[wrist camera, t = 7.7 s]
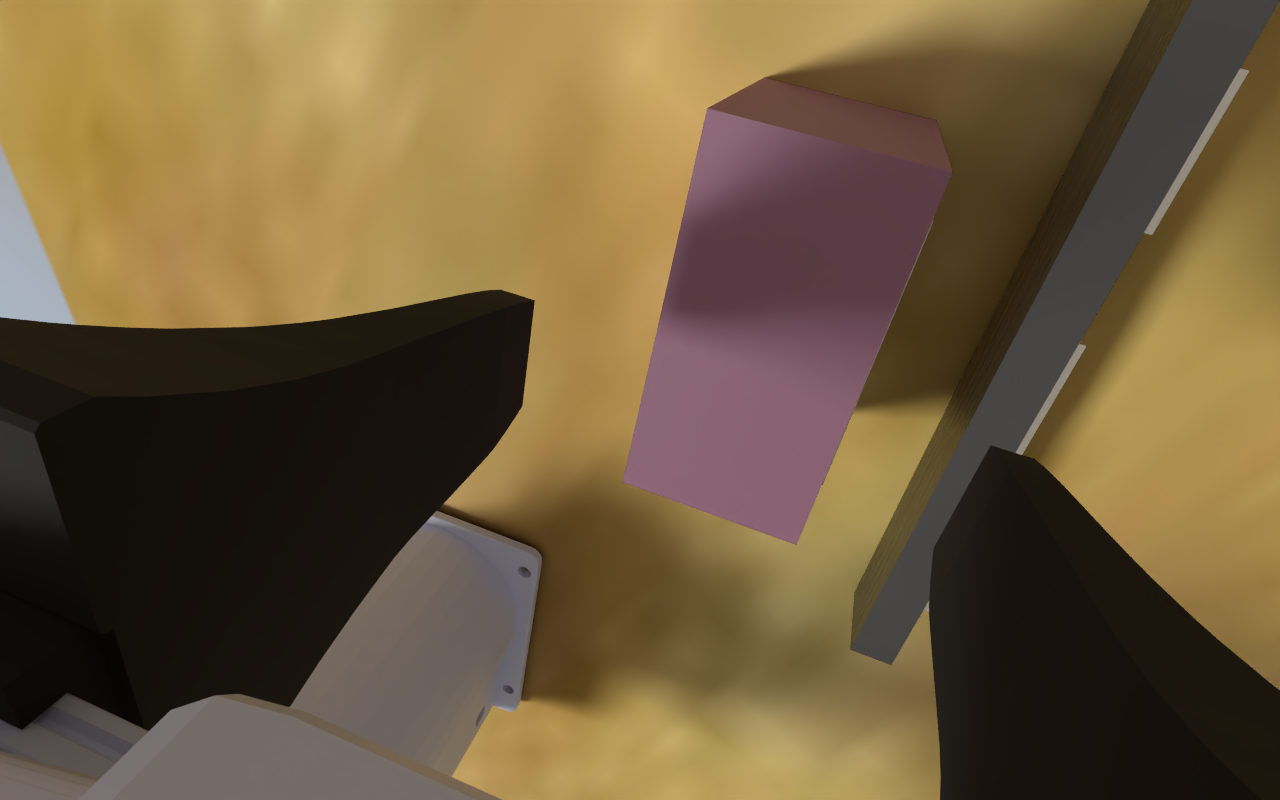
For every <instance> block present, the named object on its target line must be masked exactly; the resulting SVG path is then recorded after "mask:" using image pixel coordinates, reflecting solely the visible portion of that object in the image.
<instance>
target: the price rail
mask: <svg viewBox="0 0 1280 800" xmlns="http://www.w3.org/2000/svg"><path fill="white" fill-rule="evenodd" d="M1279 1H1280V0H1150V2H1149V4H1148V6H1147V8H1146V10H1145V12H1144V14H1143V16H1142V18H1141V20H1140V22H1139V24H1138V26H1137V28H1136V30H1135V32H1134V34H1133V36H1132V38H1131V40H1130V42H1129V44H1128V46H1127V48H1126V50H1125V52H1124V54H1123V56H1122V58H1121V60H1120V62H1119V64H1118V66H1117V68H1116V70H1115V72H1114V74H1113V76H1112V78H1111V80H1110V82H1109V84H1108V86H1107V88H1106V90H1105V92H1104V94H1103V96H1102V98H1101V100H1100V102H1099V104H1098V106H1097V108H1096V110H1095V112H1094V114H1093V116H1092V118H1091V120H1090V122H1089V124H1088V126H1087V128H1086V130H1085V132H1084V134H1083V136H1082V138H1081V140H1080V142H1079V144H1078V146H1077V148H1076V150H1075V152H1074V154H1073V156H1072V158H1071V160H1070V162H1069V164H1068V166H1067V168H1066V170H1065V172H1064V174H1063V176H1062V178H1061V180H1060V182H1059V184H1058V186H1057V188H1056V190H1055V192H1054V194H1053V196H1052V198H1051V200H1050V202H1049V204H1048V206H1047V208H1046V210H1045V212H1044V214H1043V216H1042V218H1041V220H1040V222H1039V224H1038V226H1037V228H1036V230H1035V232H1034V234H1033V236H1032V238H1031V240H1030V242H1029V244H1028V246H1027V248H1026V250H1025V252H1024V254H1023V256H1022V258H1021V261H1020V263H1019V265H1018V267H1017V269H1016V271H1015V273H1014V275H1013V277H1012V279H1011V281H1010V283H1009V285H1008V287H1007V289H1006V291H1005V293H1004V295H1003V297H1002V299H1001V301H1000V303H999V305H998V307H997V309H996V311H995V313H994V315H993V317H992V319H991V321H990V323H989V325H988V327H987V329H986V331H985V333H984V335H983V337H982V339H981V341H980V343H979V345H978V347H977V349H976V351H975V353H974V355H973V357H972V359H971V361H970V363H969V365H968V367H967V369H966V371H965V373H964V375H963V377H962V379H961V381H960V383H959V385H958V387H957V389H956V391H955V393H954V395H953V397H952V399H951V401H950V403H949V405H948V407H947V409H946V411H945V413H944V415H943V417H942V419H941V421H940V423H939V425H938V427H937V429H936V431H935V433H934V435H933V437H932V439H931V441H930V443H929V445H928V447H927V449H926V451H925V453H924V455H923V457H922V459H921V461H920V463H919V465H918V467H917V469H916V471H915V473H914V475H913V477H912V479H911V481H910V483H909V485H908V487H907V489H906V491H905V493H904V495H903V497H902V499H901V501H900V503H899V505H898V507H897V509H896V511H895V513H894V515H893V517H892V519H891V521H890V523H889V525H888V527H887V529H886V531H885V533H884V535H883V537H882V539H881V541H880V543H879V545H878V547H877V549H876V551H875V553H874V555H873V557H872V559H871V561H870V563H869V565H868V567H867V569H866V571H865V573H864V575H863V577H862V579H861V581H860V583H859V585H858V587H857V589H856V591H855V594H854V607H853V620H852V633H851V647H850V650H853V651H855V652H858V653H861V654H863V655H866V656H869V657H871V658H874V659H877V660H879V661H882V662H885V663H887V664H890V665H892V663H893V661H894V659H895V658H896V656H897V654H898V653H899V651H900V649H901V647H902V646H903V644H904V642H905V641H906V639H907V637H908V635H909V634H910V632H911V630H912V629H913V627H914V625H915V624H916V622H917V620H918V618H919V617H920V615H921V613H922V612H923V610H924V611H926V612H929V594H930V578H931V568H932V557H933V548H934V546H935V544H936V543H937V541H938V539H939V537H940V535H941V534H942V532H943V530H944V528H945V526H946V525H947V523H948V521H949V519H950V517H951V516H952V514H953V512H954V510H955V508H956V507H957V505H958V503H959V501H960V499H961V498H962V496H963V494H964V492H965V490H966V489H967V487H968V485H969V483H970V481H971V480H972V478H973V476H974V474H975V472H976V471H977V469H978V467H979V465H980V463H981V462H982V460H983V458H984V456H985V454H986V453H987V451H988V449H989V447H990V445H992V446H995V447H998V448H1001V449H1004V450H1008V451H1011V452H1014V453H1017V454H1020V455H1022V454H1023V452H1024V451H1025V449H1026V447H1027V446H1028V444H1029V442H1030V441H1031V439H1032V437H1033V435H1034V434H1035V432H1036V430H1037V429H1038V427H1039V425H1040V424H1041V422H1042V420H1043V419H1044V417H1045V415H1046V414H1047V412H1048V410H1049V408H1050V407H1051V405H1052V403H1053V402H1054V400H1055V398H1056V397H1057V395H1058V393H1059V392H1060V390H1061V388H1062V387H1063V385H1064V383H1065V381H1066V380H1067V378H1068V376H1069V375H1070V373H1071V371H1072V370H1073V368H1074V366H1075V365H1076V363H1077V361H1078V359H1079V358H1080V356H1081V354H1082V353H1083V351H1084V349H1085V348H1086V344H1085V343H1084V341H1083V339H1082V338H1083V336H1084V335H1085V333H1086V331H1087V329H1088V328H1089V326H1090V324H1091V323H1092V321H1093V319H1094V317H1095V316H1096V314H1097V312H1098V311H1099V309H1100V307H1101V305H1102V304H1103V302H1104V300H1105V299H1106V297H1107V295H1108V293H1109V292H1110V290H1111V288H1112V287H1113V285H1114V283H1115V281H1116V280H1117V278H1118V276H1119V275H1120V273H1121V271H1122V270H1123V268H1124V266H1125V264H1126V263H1127V261H1128V259H1129V258H1130V256H1131V254H1132V252H1133V251H1134V249H1135V247H1136V246H1137V244H1138V242H1139V240H1140V239H1141V237H1142V235H1143V234H1144V233H1146V234H1150V235H1153V233H1154V231H1155V229H1156V228H1157V226H1158V224H1159V223H1160V221H1161V219H1162V218H1163V216H1164V214H1165V213H1166V211H1167V209H1168V208H1169V206H1170V204H1171V202H1172V201H1173V199H1174V197H1175V196H1176V194H1177V192H1178V191H1179V189H1180V187H1181V186H1182V184H1183V182H1184V181H1185V179H1186V177H1187V175H1188V174H1189V172H1190V170H1191V169H1192V167H1193V165H1194V164H1195V162H1196V160H1197V159H1198V157H1199V155H1200V153H1201V152H1202V150H1203V148H1204V147H1205V145H1206V143H1207V142H1208V140H1209V138H1210V137H1211V135H1212V133H1213V132H1214V130H1215V128H1216V126H1217V125H1218V123H1219V121H1220V120H1221V118H1222V116H1223V115H1224V113H1225V111H1226V110H1227V108H1228V106H1229V105H1230V103H1231V101H1232V99H1233V98H1234V96H1235V94H1236V93H1237V91H1238V89H1239V88H1240V86H1241V84H1242V83H1243V81H1244V79H1245V77H1246V76H1247V74H1248V72H1249V70H1244V69H1240V68H1241V66H1242V64H1243V63H1244V61H1245V59H1246V57H1247V56H1248V54H1249V52H1250V51H1251V49H1252V47H1253V46H1254V44H1255V42H1256V40H1257V39H1258V37H1259V35H1260V34H1261V32H1262V30H1263V28H1264V27H1265V25H1266V23H1267V22H1268V20H1269V18H1270V16H1271V15H1272V13H1273V11H1274V10H1275V8H1276V6H1277V4H1278V3H1279Z"/></svg>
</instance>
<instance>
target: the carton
mask: <svg viewBox="0 0 1280 800" xmlns="http://www.w3.org/2000/svg"><path fill="white" fill-rule="evenodd" d="M952 173H953V171H952V168H951V165H950V162H949V159H948V156H947V152H946V149H945V146H944V143H943V140H942V137H941V134H940V131H939V127H938V124H937V121H936V120H932V119H928V118H924V117H920V116H916V115H912V114H908V113H904V112H900V111H896V110H892V109H888V108H884V107H880V106H876V105H872V104H868V103H864V102H860V101H856V100H852V99H848V98H844V97H840V96H836V95H832V94H828V93H824V92H820V91H816V90H812V89H808V88H804V87H800V86H796V85H792V84H788V83H784V82H780V81H776V80H772V79H768V78H763V79H761V80H759V81H757V82H755V83H754V84H752V85H750V86H748V87H746V88H744V89H742V90H740V91H739V92H737V93H735V94H733V95H731V96H729V97H727V98H726V99H724V100H722V101H720V102H718V103H716V104H714V105H713V106H711V107H709V108H707V112H706V117H705V121H704V125H703V130H702V134H701V139H700V143H699V147H698V152H697V156H696V161H695V165H694V170H693V174H692V178H691V183H690V187H689V192H688V196H687V200H686V205H685V209H684V214H683V218H682V223H681V227H680V231H679V236H678V240H677V245H676V249H675V253H674V258H673V262H672V267H671V271H670V276H669V280H668V284H667V289H666V293H665V298H664V302H663V306H662V311H661V315H660V320H659V324H658V329H657V333H656V337H655V342H654V346H653V351H652V355H651V360H650V364H649V368H648V373H647V377H646V382H645V386H644V390H643V395H642V399H641V404H640V408H639V413H638V417H637V421H636V426H635V430H634V435H633V439H632V443H631V448H630V452H629V457H628V461H627V466H626V470H625V474H624V479H623V483H626V484H629V485H632V486H634V487H637V488H640V489H643V490H646V491H648V492H651V493H654V494H657V495H659V496H662V497H665V498H668V499H671V500H673V501H676V502H679V503H682V504H684V505H687V506H690V507H693V508H696V509H698V510H701V511H704V512H707V513H709V514H712V515H715V516H718V517H721V518H723V519H726V520H729V521H732V522H734V523H737V524H740V525H743V526H746V527H748V528H751V529H754V530H757V531H759V532H762V533H765V534H768V535H771V536H773V537H776V538H779V539H782V540H784V541H787V542H790V543H793V544H795V545H797V542H798V540H799V537H800V535H801V533H802V530H803V528H804V525H805V523H806V521H807V518H808V516H809V514H810V511H811V509H812V506H813V504H814V502H815V499H816V497H817V495H818V492H819V490H820V487H821V485H823V483H824V480H825V478H826V476H827V473H828V471H829V468H830V466H831V464H832V461H833V459H834V457H835V454H836V452H837V449H838V447H839V445H840V442H841V440H842V438H843V435H844V433H845V430H846V428H847V426H848V423H849V421H850V419H851V416H852V414H853V411H854V409H855V407H856V404H857V402H858V400H859V397H860V395H861V393H862V390H863V388H864V385H865V383H866V381H867V378H868V376H869V374H870V371H871V369H872V366H873V364H874V362H875V359H876V357H877V355H878V352H879V350H880V347H881V345H882V343H883V340H884V338H885V336H886V333H887V331H888V328H889V326H890V324H891V321H892V319H893V317H894V314H895V312H896V309H897V307H898V305H899V302H900V300H901V298H902V295H903V293H904V290H905V288H906V286H907V283H908V281H909V279H910V276H911V274H912V271H913V269H914V267H915V264H916V262H917V260H918V257H919V255H920V252H921V250H922V248H923V245H924V243H925V241H926V238H927V236H928V233H929V231H930V229H931V226H932V224H933V222H934V219H933V218H934V216H935V214H936V211H937V209H938V207H939V204H940V202H941V199H942V197H943V195H944V192H945V190H946V187H947V185H948V183H949V180H950V178H951V176H952Z"/></svg>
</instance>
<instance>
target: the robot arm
mask: <svg viewBox="0 0 1280 800" xmlns="http://www.w3.org/2000/svg"><path fill="white" fill-rule="evenodd" d="M534 302H535V300H531V299H528V298H525V297H522V296H519V295H516V294H512V293H509V292H506V291H503V290H488V291H480V292H474V293H468V294H463V295H458V296H453V297H448V298H443V299H438V300H433V301H428V302H423V303H418V304H414V305H409V306H404V307H399V308H394V309H388V310H382V311H376V312H370V313H365V314H359V315H353V316H347V317H341V318H335V319H328V320H320V321H312V322H303V323H294V324H282V325H270V326H257V327H232V328H184V329H158V328H124V327H106V326H88V325H71V324H59V323H47V322H38V321H28V320H19V319H9V318H1V317H0V800H502V799H499V798H497V797H495V796H493V795H490V794H488V793H486V792H484V791H482V790H479V789H477V788H475V787H473V786H470V785H468V784H466V783H464V782H462V781H459V780H457V779H455V778H453V777H452V775H453V773H454V772H455V770H456V768H457V767H458V765H459V763H460V761H461V760H462V758H463V756H464V754H465V753H466V751H467V749H468V748H469V746H470V744H471V742H472V741H473V739H474V737H475V735H476V734H477V732H478V730H479V729H480V727H481V725H482V723H483V722H484V720H485V718H486V716H487V715H488V713H489V711H490V710H491V708H492V706H493V705H494V706H497V707H499V708H501V709H504V710H506V711H514V710H516V709H517V707H518V705H519V703H520V701H521V694H522V688H523V681H524V675H525V668H526V662H527V656H528V649H529V643H530V636H531V630H532V624H533V617H534V611H535V604H536V598H537V592H538V585H539V579H540V572H541V566H542V557H541V555H540V553H539V552H538V551H537V550H536V549H534V548H533V547H530V546H528V545H525V544H522V543H520V542H517V541H515V540H512V539H509V538H507V537H504V536H502V535H499V534H496V533H494V532H491V531H488V530H486V529H483V528H481V527H478V526H475V525H473V524H470V523H467V522H465V521H462V520H460V519H457V518H454V517H452V516H449V515H447V514H444V513H441V512H439V511H437V510H438V509H439V508H440V507H441V506H442V505H443V504H444V502H445V501H446V500H447V499H448V498H449V497H450V496H451V495H452V494H453V493H454V492H455V491H456V490H457V489H458V487H459V486H460V485H461V484H462V483H463V482H464V481H465V480H466V479H467V478H468V477H469V476H470V474H471V473H472V472H473V471H474V470H475V469H476V468H477V467H478V466H479V465H480V464H481V462H482V461H483V460H484V459H485V458H486V457H487V456H488V455H489V454H490V452H491V451H492V450H493V449H494V448H495V446H496V445H497V443H498V442H499V440H500V439H501V438H502V436H503V435H504V433H505V432H506V430H507V429H508V427H509V426H510V424H511V423H512V421H513V420H514V418H515V417H516V415H517V414H518V412H519V410H520V409H521V407H522V404H523V395H524V387H525V378H526V370H527V361H528V353H529V344H530V336H531V327H532V319H533V310H534ZM524 567H525V568H527V569H528V570H529V571H528V570H527V569H525V568H524ZM929 618H930V632H931V645H932V658H933V670H934V682H935V694H936V706H937V718H938V730H939V742H940V768H941V788H940V800H1280V690H1278V689H1277V688H1276V687H1274V686H1273V685H1272V684H1271V683H1269V682H1268V681H1267V680H1266V679H1265V678H1263V677H1262V676H1261V675H1260V674H1259V673H1257V672H1256V671H1255V670H1254V669H1253V668H1251V667H1250V666H1249V665H1248V664H1247V663H1245V662H1244V661H1243V660H1242V659H1241V658H1239V657H1238V656H1237V655H1236V654H1235V653H1233V652H1232V651H1231V650H1230V649H1229V648H1227V647H1226V646H1225V645H1224V644H1223V643H1221V642H1220V641H1219V640H1218V639H1217V638H1216V637H1214V636H1213V635H1212V634H1211V633H1210V632H1209V631H1208V630H1207V629H1205V628H1204V627H1203V626H1202V625H1201V624H1200V623H1199V622H1198V621H1196V620H1195V619H1194V618H1193V617H1192V616H1191V615H1190V614H1189V613H1188V612H1187V611H1186V610H1185V609H1184V608H1183V607H1181V606H1180V605H1179V604H1178V603H1177V602H1176V601H1175V600H1174V599H1173V598H1172V597H1171V596H1170V595H1169V594H1168V593H1167V592H1166V591H1165V590H1164V589H1163V588H1162V587H1160V586H1159V585H1158V584H1157V583H1156V582H1155V581H1154V580H1153V579H1152V578H1151V577H1150V576H1149V575H1148V574H1147V573H1146V572H1145V571H1144V570H1143V569H1142V568H1141V567H1140V566H1139V565H1138V564H1137V563H1136V562H1135V561H1134V560H1133V559H1132V558H1131V557H1130V556H1129V555H1128V554H1127V553H1126V552H1125V551H1124V550H1123V548H1122V547H1121V546H1120V545H1119V544H1118V543H1117V542H1116V541H1115V540H1114V539H1113V538H1112V537H1111V536H1110V535H1109V534H1108V533H1107V532H1106V531H1105V530H1104V529H1103V527H1102V526H1101V525H1100V524H1099V523H1098V522H1097V521H1096V520H1095V519H1094V518H1093V517H1092V516H1091V515H1090V514H1089V513H1088V511H1087V510H1086V509H1085V508H1084V507H1083V506H1082V505H1081V504H1080V503H1079V502H1078V501H1077V500H1076V499H1075V498H1074V496H1073V495H1072V494H1071V493H1070V492H1069V491H1068V490H1067V489H1066V488H1065V487H1064V486H1063V485H1062V484H1061V483H1060V482H1059V481H1058V480H1057V479H1056V478H1055V477H1054V476H1053V475H1052V474H1051V473H1050V472H1049V471H1048V470H1047V469H1046V468H1045V467H1044V466H1042V465H1041V464H1040V463H1039V462H1038V461H1036V460H1035V459H1033V458H1030V457H1027V456H1023V455H1020V454H1017V453H1014V452H1011V451H1008V450H1004V449H1001V448H998V447H995V446H992V445H990V447H989V449H988V451H987V453H986V454H985V456H984V458H983V460H982V462H981V463H980V465H979V467H978V469H977V471H976V472H975V474H974V476H973V478H972V480H971V481H970V483H969V485H968V487H967V489H966V490H965V492H964V494H963V496H962V498H961V499H960V501H959V503H958V505H957V507H956V508H955V510H954V512H953V514H952V516H951V517H950V519H949V521H948V523H947V525H946V526H945V528H944V530H943V532H942V534H941V535H940V537H939V539H938V541H937V543H936V544H935V546H934V548H933V557H932V568H931V578H930V594H929Z"/></svg>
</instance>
